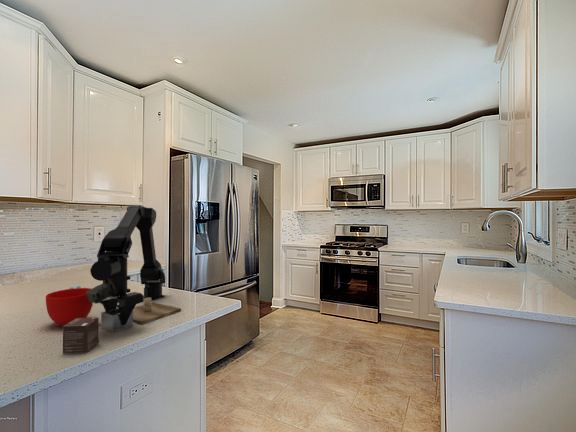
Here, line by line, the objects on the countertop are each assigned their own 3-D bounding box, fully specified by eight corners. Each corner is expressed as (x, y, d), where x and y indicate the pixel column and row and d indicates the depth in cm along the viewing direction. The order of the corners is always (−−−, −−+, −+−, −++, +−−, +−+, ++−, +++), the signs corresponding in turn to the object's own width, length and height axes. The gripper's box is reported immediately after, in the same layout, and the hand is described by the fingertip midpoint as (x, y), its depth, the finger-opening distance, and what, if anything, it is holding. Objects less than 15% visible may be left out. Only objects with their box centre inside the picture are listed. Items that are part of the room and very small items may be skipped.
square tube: (121, 322, 101) (120, 307, 101) (133, 325, 98) (132, 309, 98) (101, 328, 96) (101, 312, 96) (113, 332, 93) (113, 315, 93)
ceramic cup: (104, 311, 112) (104, 284, 112) (84, 328, 95) (84, 296, 95) (64, 314, 109) (64, 286, 109) (36, 332, 93) (36, 299, 93)
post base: (152, 304, 121) (152, 290, 121) (181, 311, 113) (181, 296, 113) (112, 316, 107) (112, 300, 107) (141, 324, 99) (141, 307, 99)
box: (76, 344, 84) (76, 317, 84) (99, 343, 85) (99, 317, 85) (62, 354, 78) (61, 325, 78) (86, 353, 79) (86, 325, 78)
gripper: (73, 275, 94) (73, 325, 94) (108, 282, 85) (108, 337, 85) (109, 269, 104) (109, 315, 104) (144, 275, 95) (144, 325, 95)
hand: (117, 323), depth 97 cm, fingers closed on square tube, 6 cm apart
